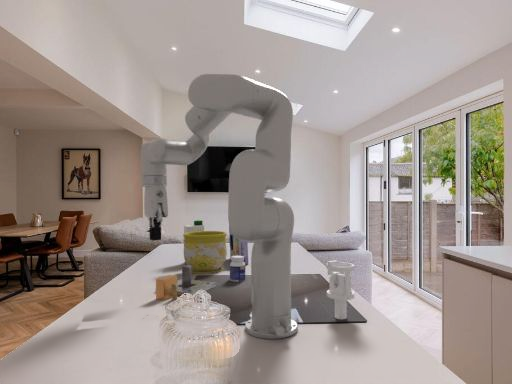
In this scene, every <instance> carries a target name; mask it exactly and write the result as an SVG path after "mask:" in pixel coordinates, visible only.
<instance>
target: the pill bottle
mask: <svg viewBox="0 0 512 384" xmlns="http://www.w3.org/2000/svg"><path fill="white" fill-rule="evenodd" d="M230 260H231V262H229V281H230V282H235V283H238V282H244V281H246V264H245V263H244V262H243V260H244V256H231V259H230Z"/></svg>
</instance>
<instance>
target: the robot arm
mask: <svg viewBox="0 0 512 384" xmlns="http://www.w3.org/2000/svg"><path fill="white" fill-rule="evenodd" d="M187 90H188V91H187V96H188V100H189V102H190V103H191V104H192V105H193V106H192V107H191V108H190V109H189V110H188V111H187V112H186V114H185V116H184V119H185V120H184V121H185V123H186V126H187V128H188V129H189V130H190V131H191V132H192V135H191V136H190V138H188V139H187V140H185V141H181V140H175V139H167V138H158V139H156V140H153V141H152V142H151V141H150V142H145V143H143V144H142V146H141V187H142V188H144V196H143V197H144V198H143V201H144V202H143V205H144V206H143V209H144V216H145V217H147V220H148V224H149V240H150V241H161V240H162V222H163V218H167V217H168V216H169V205H168V193H167V186H168V183H167V182H168V181H167V165H168V166H169V165H170V166H171V165H172V166H174V165H175V166H189V165H190V164H192V163H194V162H195V161H197V160H198V159H199V158H200V157H201V156H202V155H204V153H205V152H206V150H207V148H208V145H209V142H210V134H211V133H212V132H213V131H214V130H215V129H216V128H217V127H219V126H220V124H221V123H222V122H224V121H225V120H226V119H227V118H228V117H229V116H230V115H231V114H232V113H233V114H236V115H237V114H238V115H241V116H245V117H249V118H253V119H256V120H260V123H259V125H257V129H256V132H255V148H254V149H252V148H251V149H245V150H243V151H241V152H240V153H238V154H237V155H236V156H235V157H234V159H233V161H232V163H231V166H230V169H229V178H228V201H227V202H228V205H227V206H228V207H227V209H228V210H227V211H228V212H227V215H228V216H227V219H228V227H229V226H230V229H231V231H232V233H233V234H234V236H235V237H236V238H238V239H240V240H242V241H247V242H252V241H253V245H252V249H251V258H250V260H251V263H250V264H251V265H250V271H251V272H250V273H251V275H250V277H251V279H250V280H251V287H250V288H251V290H250V291H251V318H250V319H248V320H247V321H246V322H245V326H244V327H245V331H246V332H247V333H248V334H249V335H251V336H253V337H256V338H260V339H267V340H268V339H271V340H274V339H283V338H289V337H291V336H294V335H295V334H296V333H297V331H298V330H299V329H298V328H299V327H298V326H299V325H298V322H297V321H295V320H294V319H292V279H291V278H292V277H291V276H292V270H291V269H292V268H291V266H292V260H291V259H292V257H291V256H292V239H293V233H294V227H295V215H294V211H293V209H292V207H291V206H290V204H289V203H288V202H287V201H286V200H284V199H281V198H278V197H265V196H266V193H274V192H276V193H277V192H280V191H282V190H284V189H285V188H287V186H288V185H289V181H290V177H291V160H292V159H291V156H292V155H291V154H292V153H291V152H292V151H291V150H292V127H293V126H292V125H293V121H294V120H293V117H294V116H293V115H294V112H293V110H294V109H293V106H292V102H291V100H290V99H289V98H288V96H287V95H286V94H285V93H283V92H282V91H280V90H279V89H276V88H274V87H272V86H269V85H266V84H264V83H261V82H259V81H255V80H254V79H250V78H249V77H245V76H243V75H239V74H230V73H229V74H228V73H225V74H224V73H223V74H222V73H220V74H219V73H205V74H204V73H203V74H200V75H198V76H197V77H195V78H194V79H193V80H192V81H191V83H190V85H189V87H188V89H187Z"/></svg>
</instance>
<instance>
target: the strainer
mask: <svg viewBox="0 0 512 384" xmlns="http://www.w3.org/2000/svg"><path fill="white" fill-rule="evenodd" d="M326 269H327V276H329V289H328V290H326V297H327V298H329V299H332V300H334V318H335V319H337V320H346V319H347V318H348V317H347V313H348V311H347V307H348V306H347V301H350V300H351V301H352V300H354V299H355V291H353V290H352V274H351V272H352V271H355V264H353V263H350V262H344V261H343V262H342V261H339V260H336V259H333V260H327V263H326Z"/></svg>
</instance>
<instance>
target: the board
mask: <svg viewBox="0 0 512 384" xmlns="http://www.w3.org/2000/svg"><path fill="white" fill-rule="evenodd" d="M181 279H182V287H184V288H190V287H191V280H192V274H191V266H190V265H187V264H186V265H182V266H181ZM171 300H172V301H177V300H178V295H177V284H172V297H171Z"/></svg>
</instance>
